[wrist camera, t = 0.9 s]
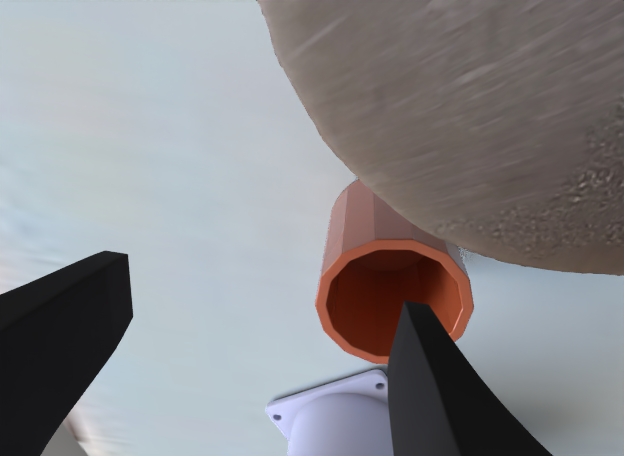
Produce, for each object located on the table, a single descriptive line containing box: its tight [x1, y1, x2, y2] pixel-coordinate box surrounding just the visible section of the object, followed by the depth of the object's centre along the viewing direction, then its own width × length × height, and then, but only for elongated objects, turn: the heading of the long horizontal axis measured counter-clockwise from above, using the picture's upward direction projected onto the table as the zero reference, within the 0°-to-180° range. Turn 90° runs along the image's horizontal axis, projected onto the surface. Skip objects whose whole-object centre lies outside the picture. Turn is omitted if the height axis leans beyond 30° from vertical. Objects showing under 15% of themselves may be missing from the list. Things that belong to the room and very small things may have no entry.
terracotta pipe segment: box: [315, 180, 474, 364], centre depth 18 cm, size 5×6×6 cm
